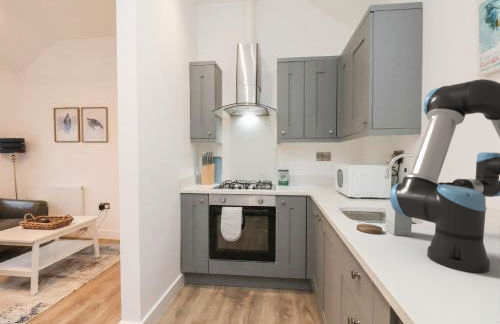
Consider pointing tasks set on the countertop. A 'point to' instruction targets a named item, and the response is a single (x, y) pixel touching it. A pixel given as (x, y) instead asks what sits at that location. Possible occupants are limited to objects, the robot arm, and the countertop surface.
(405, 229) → the supplement box
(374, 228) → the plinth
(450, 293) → the countertop surface
